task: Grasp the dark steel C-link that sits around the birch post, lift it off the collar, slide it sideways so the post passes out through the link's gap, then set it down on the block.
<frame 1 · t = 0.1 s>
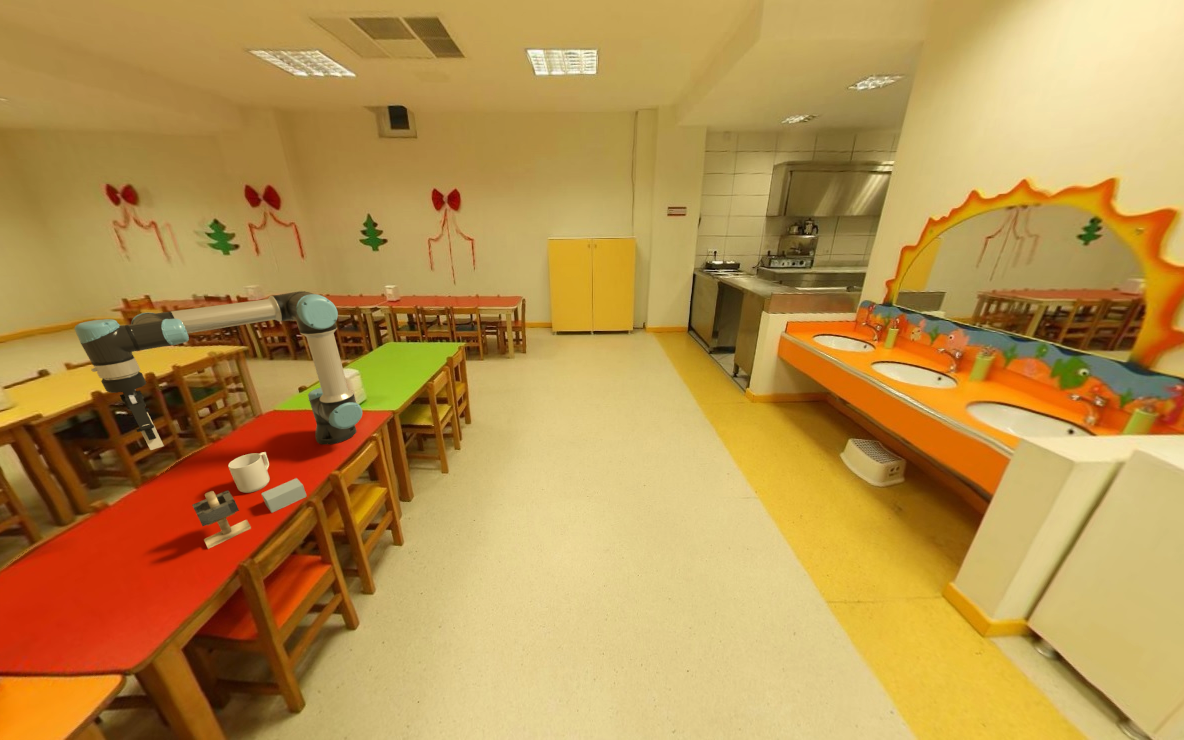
hand: (153, 439, 114), 28 cm above the table, fingers open, 13 cm apart
c link: (218, 512, 112), point 9 cm above the table, touching stand
mug: (259, 483, 138), on the table
stand: (228, 535, 116), on the table
block: (286, 500, 130), on the table
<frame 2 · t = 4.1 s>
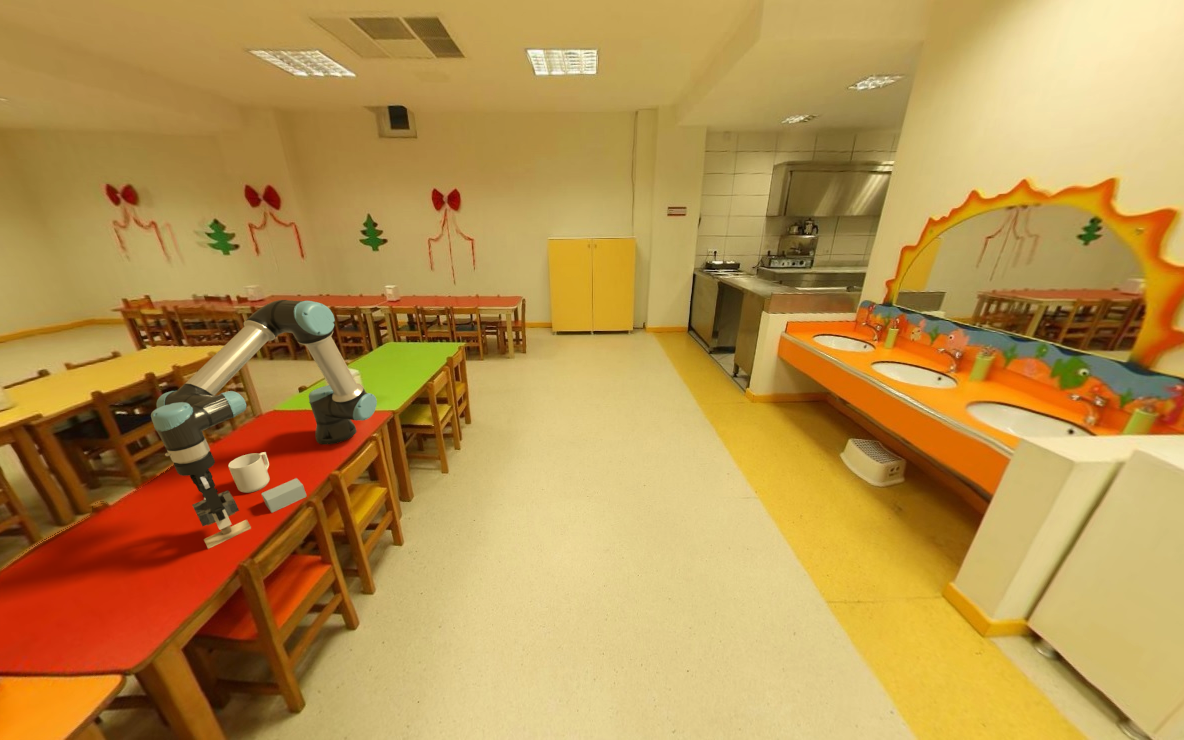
hand: (221, 519, 114), 6 cm above the table, fingers closed on c link, 8 cm apart
c link: (218, 512, 112), point 9 cm above the table, touching gripper, stand
everything else where it was.
when the fingers open (4 cm above the table, at t = 11.6 s): c link drops 1 cm, resting on block.
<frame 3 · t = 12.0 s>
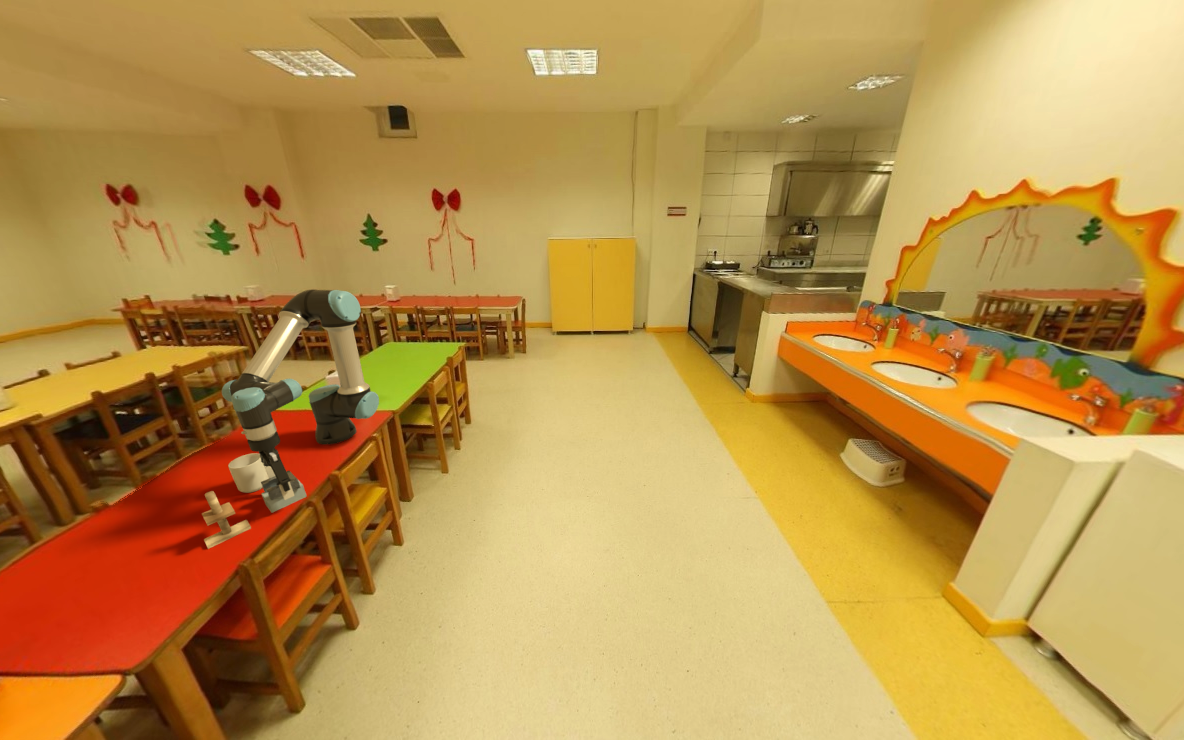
hand: (282, 489, 128), 5 cm above the table, fingers open, 13 cm apart
c link: (282, 489, 128), point 5 cm above the table, touching block
everything else where it was.
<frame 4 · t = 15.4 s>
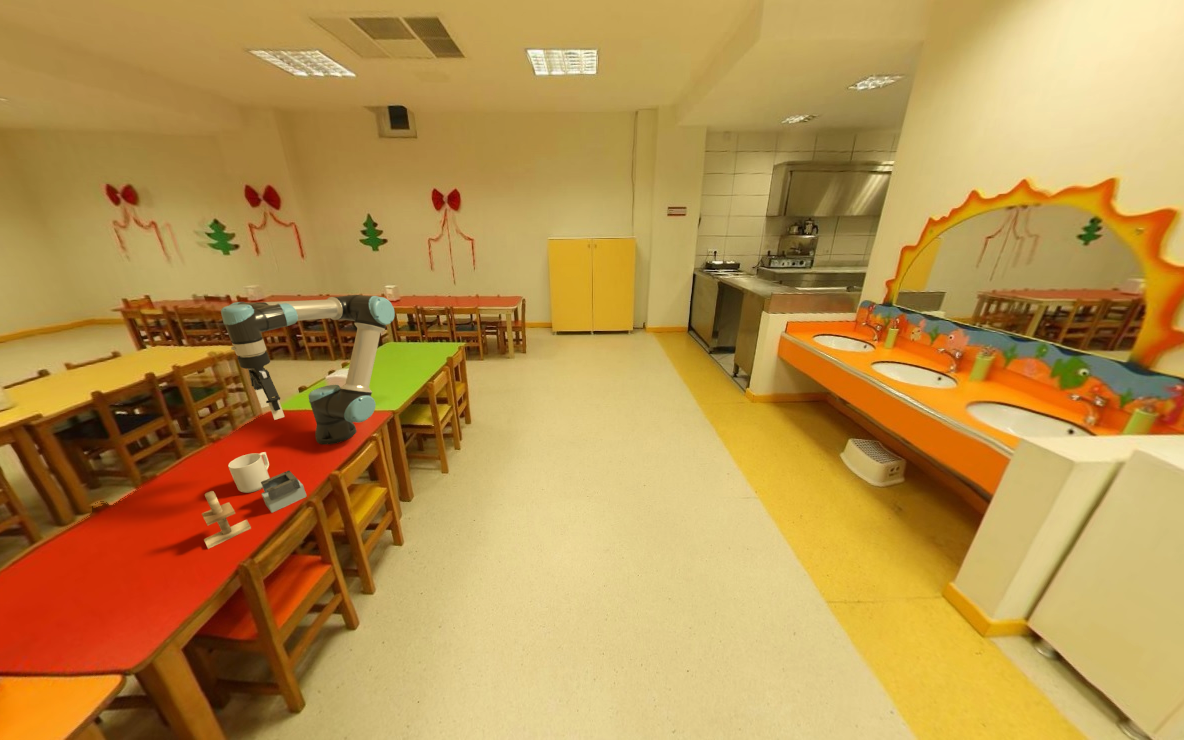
hand: (272, 412, 129), 29 cm above the table, fingers open, 13 cm apart
nothing on the table moved.
at the end: c link 0.0 cm off-centre on the block, point 5.0 cm above the block's base; c link tilted 0°; the gripper is holding nothing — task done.
